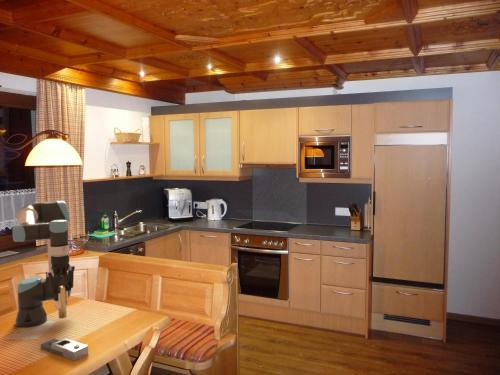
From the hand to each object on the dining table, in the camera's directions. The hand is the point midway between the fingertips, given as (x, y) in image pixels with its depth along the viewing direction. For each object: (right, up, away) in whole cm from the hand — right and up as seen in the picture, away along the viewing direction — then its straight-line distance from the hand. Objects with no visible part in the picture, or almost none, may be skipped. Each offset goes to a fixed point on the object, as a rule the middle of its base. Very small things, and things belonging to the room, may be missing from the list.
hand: (62, 306), depth 187 cm
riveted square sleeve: (0, -21, +2) cm, 21 cm away
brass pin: (0, -5, 0) cm, 5 cm away
